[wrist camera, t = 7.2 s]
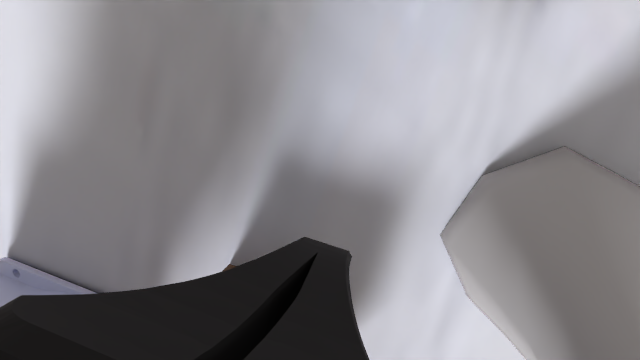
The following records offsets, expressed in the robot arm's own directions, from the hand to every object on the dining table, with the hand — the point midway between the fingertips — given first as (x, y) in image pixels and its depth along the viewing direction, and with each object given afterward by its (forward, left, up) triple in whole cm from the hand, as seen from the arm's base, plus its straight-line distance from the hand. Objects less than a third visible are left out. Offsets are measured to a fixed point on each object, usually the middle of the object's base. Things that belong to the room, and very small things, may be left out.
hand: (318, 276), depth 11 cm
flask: (+7, 0, -7) cm, 10 cm away
